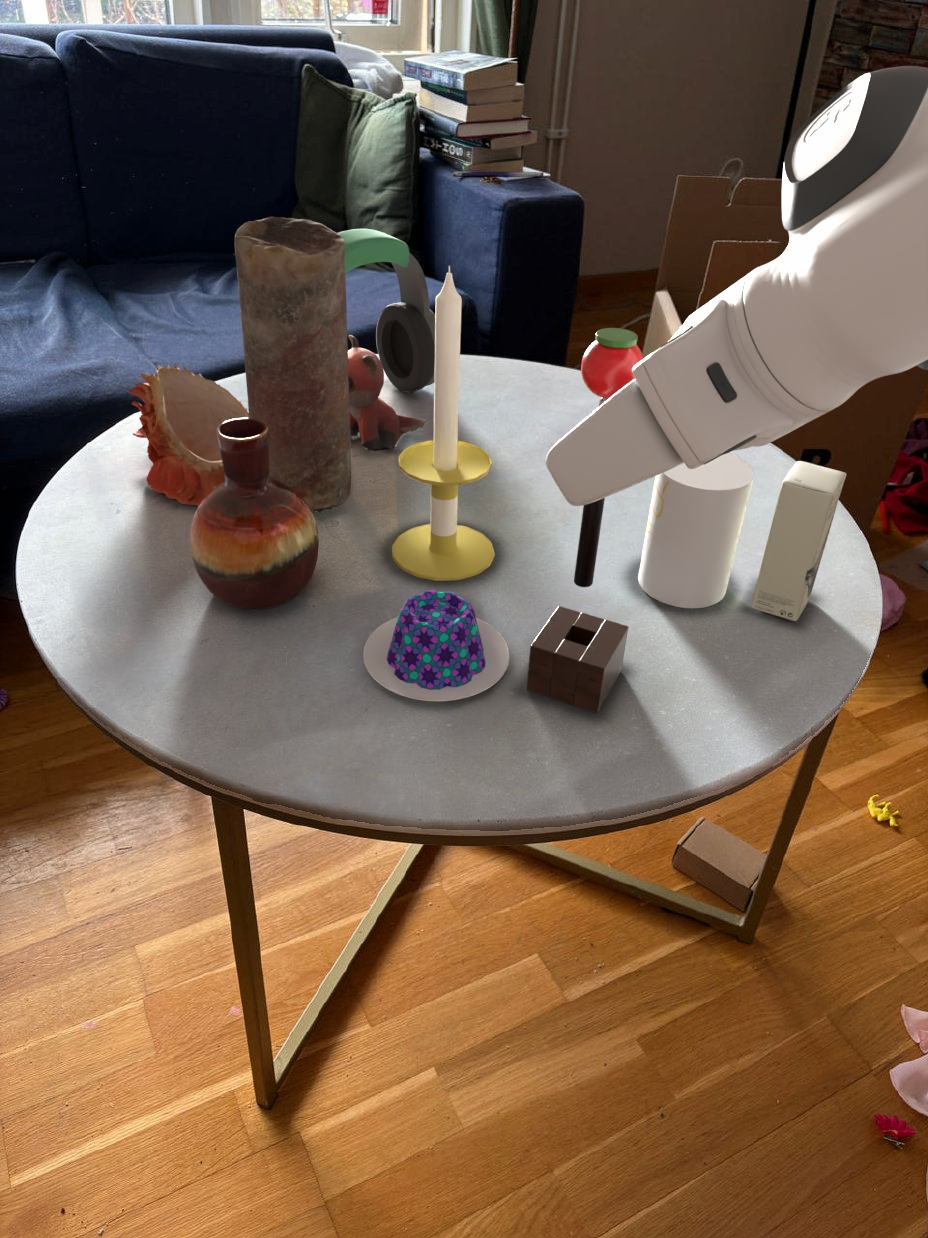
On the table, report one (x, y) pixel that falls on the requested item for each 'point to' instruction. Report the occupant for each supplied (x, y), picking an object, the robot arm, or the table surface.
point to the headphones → (398, 310)
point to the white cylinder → (694, 531)
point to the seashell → (184, 431)
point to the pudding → (436, 650)
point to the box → (797, 539)
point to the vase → (252, 526)
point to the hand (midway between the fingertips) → (591, 464)
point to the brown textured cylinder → (298, 352)
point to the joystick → (604, 377)
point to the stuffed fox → (373, 403)
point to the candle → (444, 468)
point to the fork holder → (576, 658)
